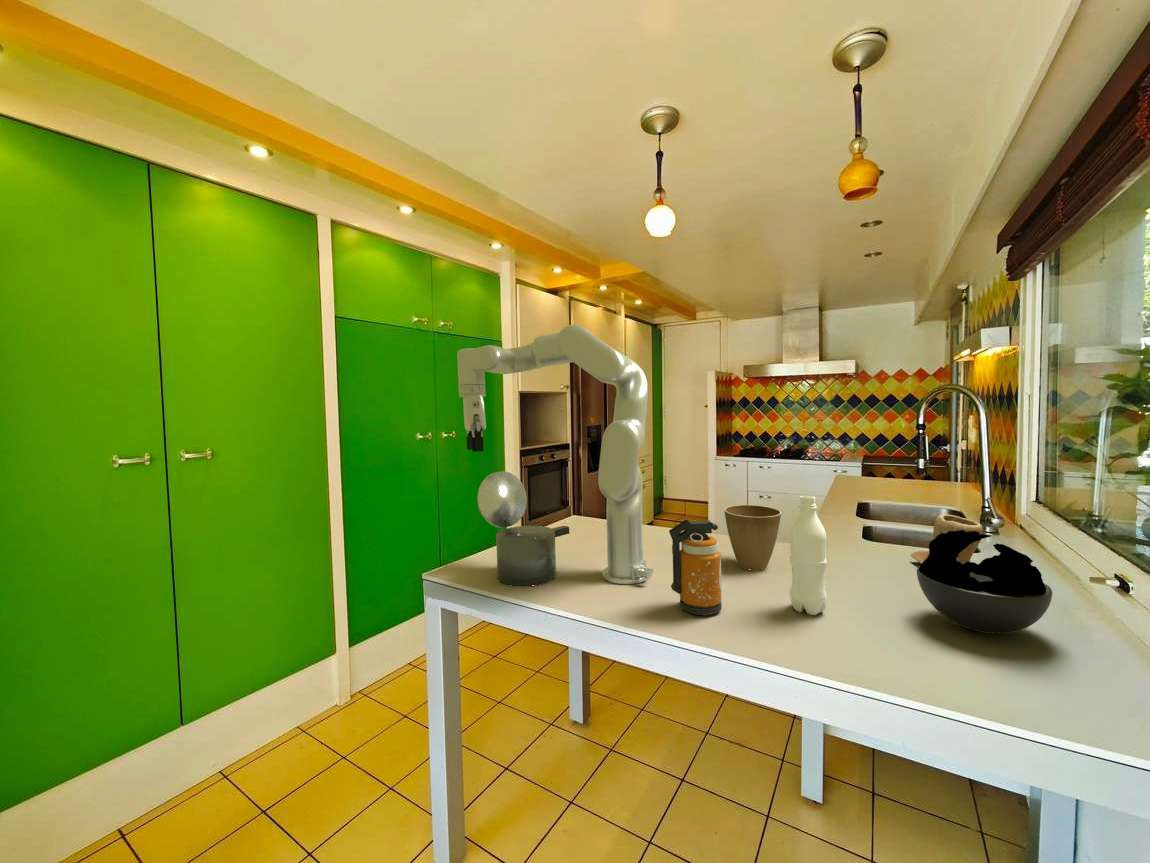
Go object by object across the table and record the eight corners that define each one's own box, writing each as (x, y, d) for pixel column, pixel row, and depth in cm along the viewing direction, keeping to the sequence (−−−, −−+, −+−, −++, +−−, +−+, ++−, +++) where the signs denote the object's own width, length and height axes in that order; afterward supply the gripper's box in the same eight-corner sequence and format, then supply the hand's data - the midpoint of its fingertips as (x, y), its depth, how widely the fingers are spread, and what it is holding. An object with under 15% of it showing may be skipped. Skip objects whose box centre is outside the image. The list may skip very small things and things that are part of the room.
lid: (484, 532, 129) (478, 532, 131) (530, 521, 140) (524, 522, 142) (475, 474, 131) (469, 476, 133) (521, 468, 142) (515, 470, 144)
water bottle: (812, 620, 98) (811, 501, 97) (782, 607, 104) (782, 496, 103) (834, 612, 101) (833, 497, 100) (804, 601, 108) (803, 492, 106)
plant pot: (713, 563, 135) (712, 508, 135) (752, 555, 142) (751, 502, 141) (753, 579, 122) (752, 518, 121) (793, 570, 128) (793, 511, 127)
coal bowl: (919, 599, 107) (920, 517, 106) (1043, 623, 94) (1045, 530, 93) (912, 633, 91) (913, 537, 90) (1060, 666, 78) (1061, 555, 78)
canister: (726, 617, 100) (725, 524, 99) (674, 618, 101) (673, 525, 100) (715, 600, 109) (714, 515, 108) (667, 601, 110) (665, 516, 109)
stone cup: (993, 583, 115) (994, 522, 114) (937, 580, 118) (938, 521, 117) (958, 563, 130) (958, 509, 129) (909, 561, 132) (909, 509, 132)
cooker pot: (586, 569, 133) (585, 527, 133) (520, 591, 118) (519, 544, 117) (546, 556, 146) (545, 518, 146) (483, 575, 131) (481, 532, 130)
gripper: (490, 389, 130) (493, 451, 131) (480, 393, 146) (482, 448, 147) (463, 390, 127) (466, 453, 128) (455, 393, 143) (458, 449, 144)
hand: (475, 450), depth 137 cm, fingers open, 9 cm apart
